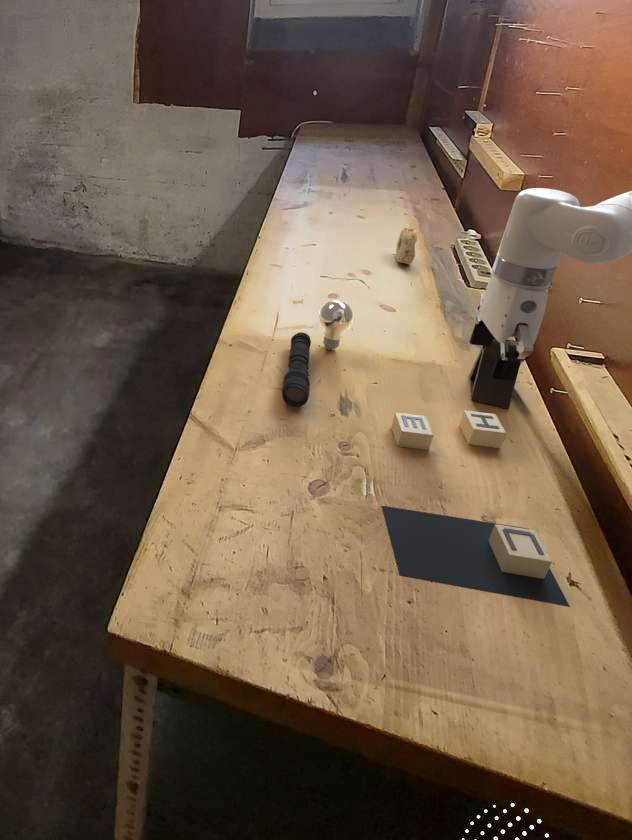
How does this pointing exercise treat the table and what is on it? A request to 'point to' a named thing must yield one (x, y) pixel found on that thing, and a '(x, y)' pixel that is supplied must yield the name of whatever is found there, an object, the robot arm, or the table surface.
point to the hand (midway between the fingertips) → (490, 360)
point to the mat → (459, 555)
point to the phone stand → (490, 378)
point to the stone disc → (406, 245)
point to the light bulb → (335, 321)
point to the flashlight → (297, 371)
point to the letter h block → (482, 429)
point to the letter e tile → (412, 431)
